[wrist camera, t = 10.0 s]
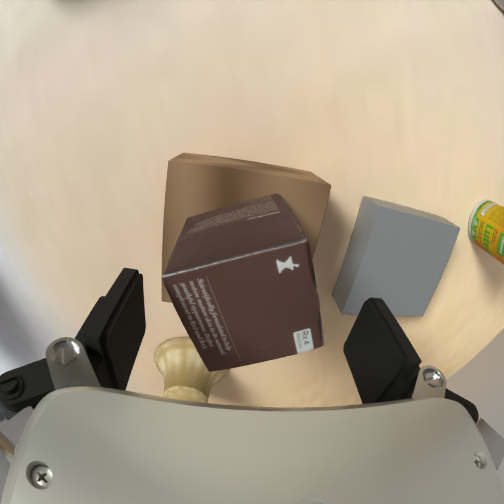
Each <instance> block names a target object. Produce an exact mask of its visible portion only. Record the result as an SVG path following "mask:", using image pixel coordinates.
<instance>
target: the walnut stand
mask: <svg viewBox="0 0 504 504" xmlns="http://www.w3.org/2000/svg"><path fill="white" fill-rule="evenodd" d="M330 189H331V185H330V184H328V183H327V182H325V181H324V180H322V179H321V178H319V177H318V176H316V175H315V174H313V173H312V172H308V171H303V170H298V169H293V168H288V167H282V166H276V165H271V164H265V163H259V162H252V161H246V160H239V159H232V158H224V157H216V156H208V155H199V154H190V153H182V154H180V155H178V156H176V157H175V158H173V159H171V160H169V161H168V171H167V182H166V194H165V207H164V224H163V246H162V275H163V273H164V271H165V269H166V267H167V265H168V260H169V258H170V256H171V254H172V252H173V249H174V247H175V245H176V242H177V240H178V237H179V235H180V233H181V231H182V228H183V226H184V224H185V221H186V219H187V218H188V217H192V216H195V215H199V214H202V213H206V212H209V211H213V210H216V209H220V208H223V207H227V206H231V205H234V204H238V203H242V202H246V201H249V200H253V199H257V198H261V197H264V196H269V195H272V194H280V196H281V197H282V199H283V200H284V202H285V204H286V205H287V207H288V208H289V210H290V211H291V213H292V215H293V216H294V218H295V220H296V221H297V223H298V225H299V226H300V228H301V229H302V231H303V233H304V235H305V237H306V238H307V239H308V241H309V244H310V250H311V255H312V258H313V255H314V251H315V248H316V244H317V240H318V236H319V233H320V229H321V225H322V221H323V217H324V213H325V209H326V205H327V201H328V197H329V193H330ZM162 301H164V302H171V303H172V301H171V299H170V296H169V294H168V292H167V290H166V288H165V286H164V283H163V281H162Z"/></svg>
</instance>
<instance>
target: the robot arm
mask: <svg viewBox="0 0 504 504" xmlns="http://www.w3.org/2000/svg"><path fill="white" fill-rule="evenodd" d="M493 1H494V2H495V3H496V4H497V5H498V6H499V7H500V8H501V9H502V10H503V11H504V0H493ZM145 329H146V322H145V309H144V292H143V275H142V274H139V272H138V270H136V269H129V268H124V269H123V270H122V272H121V273H120V275H119V276H118V278H117V279H116V281H115V282H114V284H113V285H112V287H111V288H110V290H109V292H108V293H107V295H106V296H105V297H104V296H102V297H100V298H99V299H98V301H97V303H96V304H95V306H94V307H93V309H92V311H91V312H90V314H89V315H88V317H87V319H86V320H85V322H84V324H83V325H82V327H81V329H80V330H79V332H78V334H77V336H76V337H75V339H74V338H70V337H64V338H59V339H57V340H55V341H53V342H52V343H51V344H50V345H49V346H48V348H47V351H46V358H45V359H42V360H39V361H36V362H33V363H31V364H28V365H25V366H22V367H19V368H16V369H13V370H11V371H8V372H5V373H3V374H2V375H1V376H0V504H504V493H503V489H502V485H501V482H500V479H499V476H498V474H497V470H498V468H499V466H500V463H501V461H502V459H503V457H504V439H503V438H502V437H501V436H500V435H499V434H498V433H497V432H496V431H495V430H494V429H493V428H492V427H490V426H489V425H488V424H487V423H486V422H485V421H484V420H483V419H481V418H480V419H479V420H478V411H477V409H476V406H475V405H474V404H473V403H471V402H470V401H468V400H466V399H464V398H462V397H461V396H459V395H457V394H455V393H453V392H452V391H450V390H448V389H446V379H445V376H444V375H443V373H442V372H441V371H440V370H438V369H437V368H435V367H432V366H423V367H422V368H421V369H420V367H419V365H420V363H421V362H422V361H421V359H420V358H419V356H418V354H417V353H416V351H415V349H414V348H413V346H412V344H411V343H410V341H409V339H408V338H407V336H406V335H405V333H404V331H403V330H402V328H401V327H400V325H399V323H398V322H397V320H396V319H395V317H394V316H393V314H392V313H391V311H390V309H389V308H388V306H387V305H386V303H385V302H384V300H383V299H382V298H372V297H370V298H369V299H368V300H366V301H365V302H364V303H363V306H362V308H361V310H360V312H359V314H358V317H357V319H356V321H355V323H354V325H353V327H352V329H351V332H350V334H349V336H348V338H347V340H346V342H345V344H344V349H343V350H344V354H345V356H346V359H347V362H348V364H349V367H350V370H351V373H352V375H353V378H354V381H355V384H356V386H357V389H358V392H359V395H360V398H361V400H362V403H363V404H360V405H348V406H332V407H305V408H276V407H249V406H233V405H221V404H211V403H202V402H193V401H186V400H179V399H172V398H165V397H159V396H153V395H147V394H142V393H137V392H130V391H125V390H126V386H127V383H128V380H129V377H130V374H131V371H132V368H133V365H134V362H135V359H136V356H137V353H138V351H139V348H140V345H141V342H142V339H143V336H144V334H145ZM16 445H17V447H16V449H15V446H16ZM14 450H15V452H14ZM49 468H50V469H49Z"/></svg>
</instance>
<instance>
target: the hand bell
mask: <svg viewBox="0 0 504 504" xmlns="http://www.w3.org/2000/svg"><path fill="white" fill-rule="evenodd" d="M154 359H155V363H156V366H157V368H158V370H159V371H160V373H161V374H162V375H163V377H164V397H165V398H172V399H179V400H186V401H193V402H202V403H207V402H208V397H209V393H210V390H211V388H212V386H213V384H215V383H217V382H218V381H220V380H221V379H222V378H223V376H224V375H225V373H226V371H227V369H225V370H219V371H213V372H209V371H208V370H207V368H206V366H205V365H204V363H203V361H202V359H201V358H200V356H199V354H198V352H197V350H196V348H195V346H194V344H193V342H192V341H191V339H190V338H185V337H180V338H173V339H170V340H167V341H165V342H164V343H162V344H161V345H160V346H159V347H158V348H157V349H156V352H155V355H154Z"/></svg>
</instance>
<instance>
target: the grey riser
mask: <svg viewBox="0 0 504 504" xmlns="http://www.w3.org/2000/svg"><path fill="white" fill-rule="evenodd" d="M459 230H460V228H459V227H458V226H456V225H454V224H453V223H451V222H449V221H448V220H446V219H444V218H443V217H440V216H437V215H433V214H430V213H426V212H423V211H420V210H416V209H412V208H409V207H405V206H401V205H398V204H394V203H390V202H386V201H382V200H378V199H374V198H370V197H366V196H363V198H362V202H361V205H360V209H359V213H358V216H357V220H356V223H355V227H354V230H353V234H352V237H351V240H350V243H349V247H348V250H347V253H346V256H345V259H344V262H343V265H342V268H341V271H340V274H339V277H338V280H337V283H336V286H335V289H334V292H333V295H332V296H333V298H334V300H335V302H336V304H337V306H338V308H339V310H340V312H341V314H349V315H358V314H359V312H360V310H361V308H362V306H363V303H364V302H365V301H366V300H368V299H369V298H370V297H372V298H382V299H383V300H384V302H385V303H386V305H387V306H388V308H389V309H390V311H391V313H392V314H393V316H421V317H422V316H423V314H424V312H425V310H426V308H427V306H428V304H429V302H430V300H431V298H432V296H433V294H434V292H435V290H436V288H437V285H438V283H439V281H440V279H441V276H442V274H443V272H444V269H445V267H446V265H447V262H448V260H449V257H450V255H451V252H452V250H453V247H454V244H455V242H456V239H457V236H458V233H459Z"/></svg>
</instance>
